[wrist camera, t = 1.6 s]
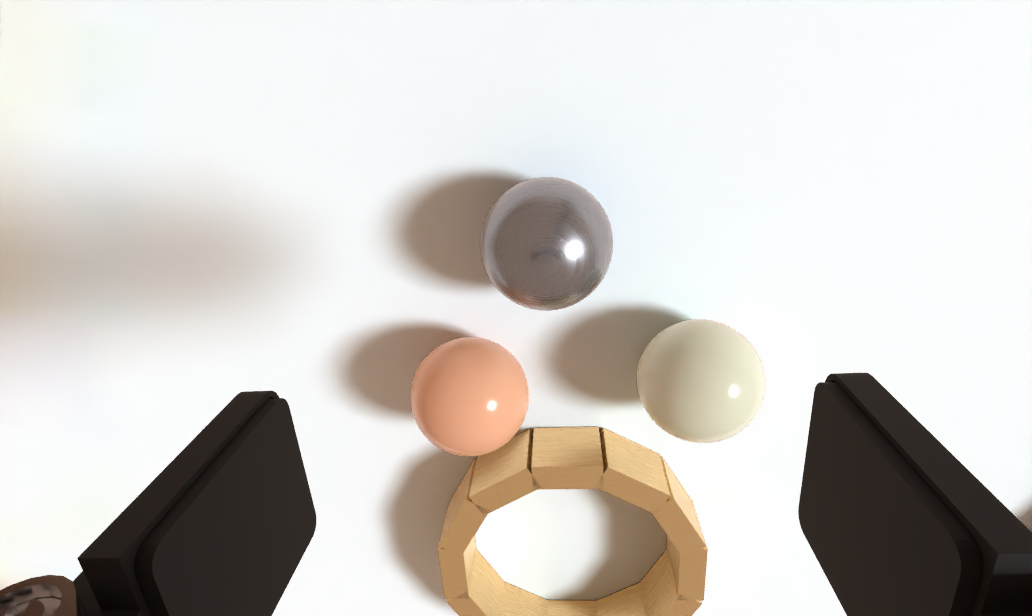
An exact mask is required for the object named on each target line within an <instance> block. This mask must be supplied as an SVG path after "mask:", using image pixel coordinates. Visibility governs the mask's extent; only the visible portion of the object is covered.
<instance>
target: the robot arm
mask: <svg viewBox="0 0 1032 616" xmlns="http://www.w3.org/2000/svg"><path fill="white" fill-rule="evenodd" d="M799 521H800V525H801V528H802V531H803V533H804V535H805V537H806V539H807V541H808V542H809V544H810V546H811V548H812V550H813V552H814V554H815V556H816V558H817V559H818V561H819V563H820V565H821V567H822V569H823V571H824V573H825V575H826V577H827V578H828V580H829V582H830V584H831V586H832V588H833V590H834V592H835V594H836V595H837V597H838V599H839V601H840V603H841V605H842V607H843V609H844V611H845V612H846V614H847V616H1032V532H1031V531H1030V530H1029V529H1028V528H1027V527H1026V526H1025V525H1023V524H1022V523H1021V522H1020V521H1019V520H1018V519H1017V518H1016V517H1015V516H1014V515H1013V514H1012V513H1011V512H1010V511H1009V510H1008V509H1007V508H1006V507H1005V506H1004V505H1003V504H1002V503H1001V502H1000V501H999V500H998V499H997V498H996V497H995V496H994V495H993V494H992V493H991V492H990V491H989V490H988V489H987V488H986V487H985V486H984V485H983V484H982V483H981V482H980V481H979V480H978V479H977V478H976V477H975V476H974V475H972V474H971V473H970V472H969V471H968V470H967V469H966V468H965V467H964V466H963V465H962V464H961V463H960V462H959V461H958V460H957V459H956V458H955V457H954V456H953V455H952V454H951V453H950V452H949V451H948V450H947V449H946V448H945V447H944V446H943V445H942V444H941V443H940V442H939V441H938V440H937V439H936V438H935V437H934V436H933V435H932V434H931V433H930V432H929V431H928V430H927V429H926V428H925V427H924V426H923V425H922V424H920V423H919V422H918V421H917V420H916V419H915V418H914V417H913V416H912V415H911V414H910V413H909V412H908V411H907V410H906V409H905V408H904V407H903V406H902V405H901V404H900V403H899V402H898V401H897V400H896V399H895V398H894V397H893V396H892V395H891V394H890V393H889V392H888V391H887V390H886V389H885V388H884V387H883V386H882V385H881V384H880V383H879V382H878V381H877V380H876V379H875V378H874V377H873V376H871V375H870V374H868V373H844V374H830V375H829V376H828V377H827V379H826V381H825V383H818V384H817V385H816V387H815V392H814V399H813V406H812V413H811V421H810V428H809V435H808V443H807V450H806V458H805V465H804V472H803V480H802V487H801V494H800V502H799ZM315 528H316V513H315V509H314V505H313V501H312V497H311V493H310V489H309V485H308V481H307V477H306V473H305V469H304V465H303V461H302V457H301V453H300V449H299V445H298V441H297V437H296V433H295V429H294V425H293V421H292V417H291V413H290V409H289V405H288V403H287V401H286V400H285V399H283V398H279V396H278V395H277V393H276V392H274V391H253V392H241V393H239V394H238V395H237V396H236V397H235V398H234V399H233V400H232V401H231V402H230V403H229V404H228V405H227V406H226V407H225V408H224V409H223V410H222V411H221V412H220V413H219V414H218V415H217V416H216V417H215V418H214V419H213V420H212V421H211V422H210V423H209V424H208V425H207V426H206V427H205V428H204V429H203V430H202V431H201V432H200V433H199V434H198V435H197V436H196V437H195V439H194V440H193V441H192V442H191V443H190V444H189V445H188V446H187V447H186V448H185V449H184V450H183V451H182V452H181V453H180V454H179V455H178V456H177V457H176V458H175V459H174V460H173V461H172V462H171V463H170V464H169V465H168V466H167V467H166V468H165V469H164V470H163V471H162V472H161V473H160V474H159V475H158V476H157V477H156V478H155V479H154V480H153V481H152V482H151V484H150V485H149V486H148V487H147V488H146V489H145V490H144V491H143V492H142V493H141V494H140V495H139V496H138V497H137V498H136V499H135V500H134V501H133V502H132V503H131V504H130V505H129V506H128V507H127V508H126V509H125V510H124V511H123V512H122V513H121V514H120V515H119V516H118V517H117V518H116V519H115V520H114V521H113V522H112V523H111V524H110V525H109V526H108V528H107V529H106V530H105V531H104V532H103V533H102V534H101V535H100V536H99V537H98V538H97V539H96V540H95V541H94V542H93V543H92V544H91V545H90V546H89V547H88V548H87V549H86V550H85V551H84V552H83V553H82V554H81V555H80V556H79V557H78V560H79V563H80V565H81V567H82V569H83V571H82V572H81V574H80V575H79V576H78V577H77V578H76V579H75V580H74V581H73V582H72V581H71V580H69V579H67V578H66V577H64V576H55V575H47V576H41V577H35V578H30V579H27V580H24V581H21V582H19V583H16V584H13V585H10V586H8V587H6V588H4V589H2V590H0V616H272V614H273V612H274V610H275V608H276V606H277V604H278V602H279V600H280V598H281V596H282V594H283V593H284V591H285V589H286V587H287V585H288V583H289V581H290V579H291V577H292V575H293V573H294V571H295V570H296V568H297V566H298V564H299V562H300V560H301V558H302V556H303V554H304V552H305V550H306V548H307V547H308V545H309V543H310V541H311V539H312V537H313V535H314V532H315Z"/></svg>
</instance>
